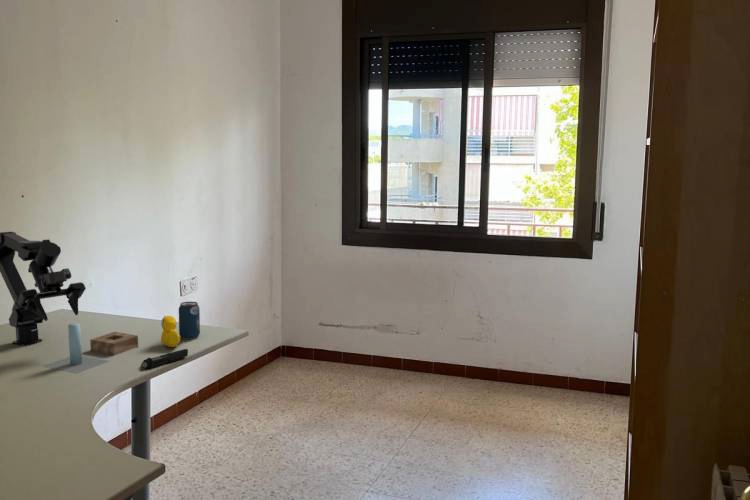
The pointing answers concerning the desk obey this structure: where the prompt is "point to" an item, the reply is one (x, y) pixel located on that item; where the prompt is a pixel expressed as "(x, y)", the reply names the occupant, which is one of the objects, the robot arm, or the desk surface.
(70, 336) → the peg
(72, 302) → the robot arm
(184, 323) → the soda can
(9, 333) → the desk surface
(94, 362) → the mat
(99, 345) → the hole block
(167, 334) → the duckling
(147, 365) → the electric trimmer
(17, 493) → the desk surface
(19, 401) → the desk surface
